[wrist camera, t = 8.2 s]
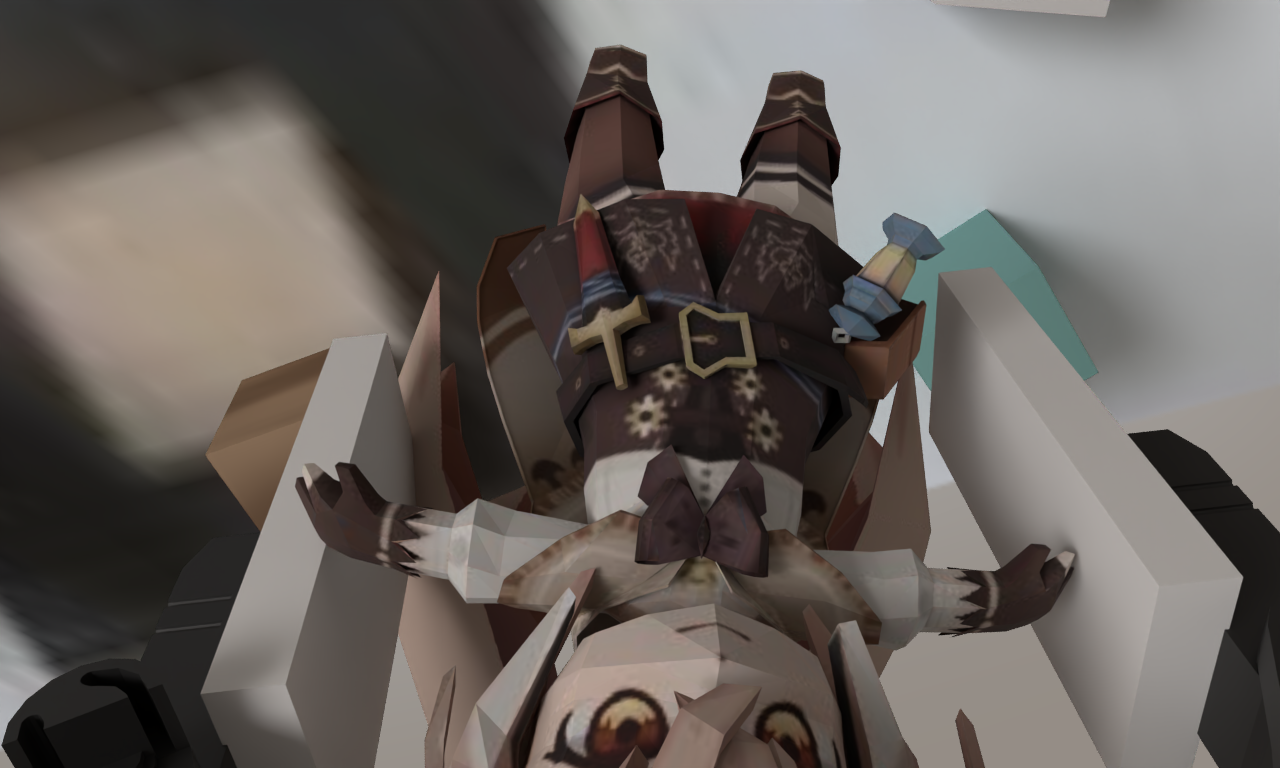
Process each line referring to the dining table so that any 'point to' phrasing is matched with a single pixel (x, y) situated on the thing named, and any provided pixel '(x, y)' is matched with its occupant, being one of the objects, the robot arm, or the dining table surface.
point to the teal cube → (995, 248)
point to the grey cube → (1038, 6)
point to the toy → (677, 472)
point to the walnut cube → (263, 432)
